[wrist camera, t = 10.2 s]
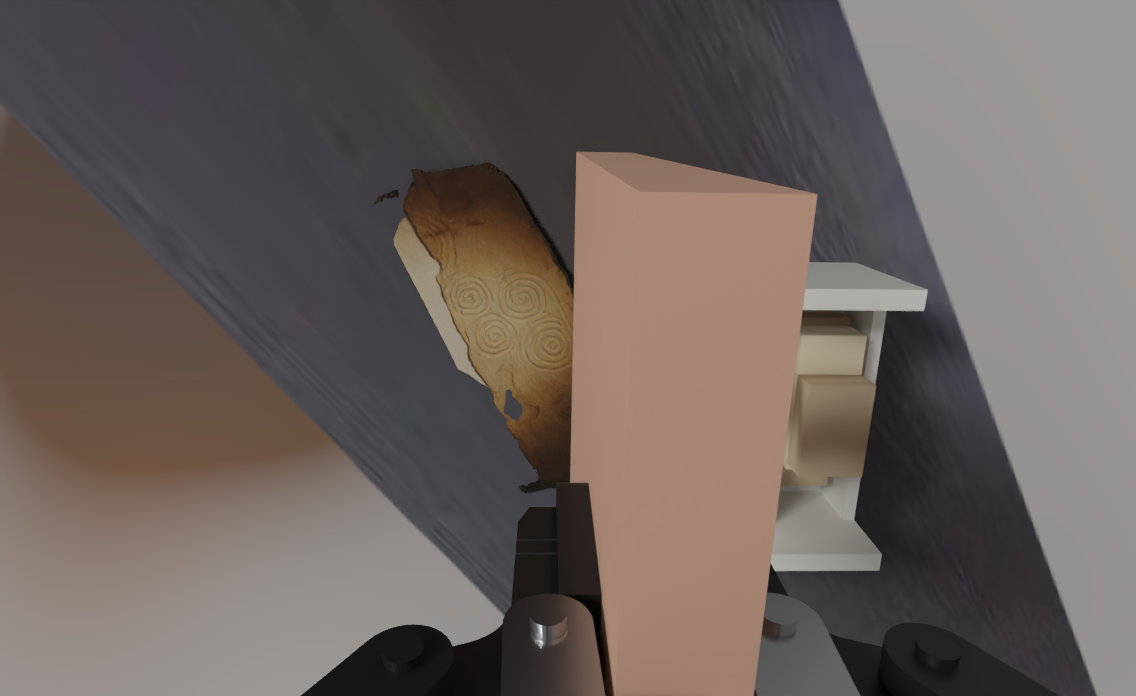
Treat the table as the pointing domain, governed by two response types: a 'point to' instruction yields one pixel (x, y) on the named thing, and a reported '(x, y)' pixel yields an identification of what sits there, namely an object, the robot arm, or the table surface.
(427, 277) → the parchment
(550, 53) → the table surface
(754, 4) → the table surface
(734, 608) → the board
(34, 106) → the table surface
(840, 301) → the rack
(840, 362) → the offcut mid
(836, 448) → the offcut small
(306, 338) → the table surface
